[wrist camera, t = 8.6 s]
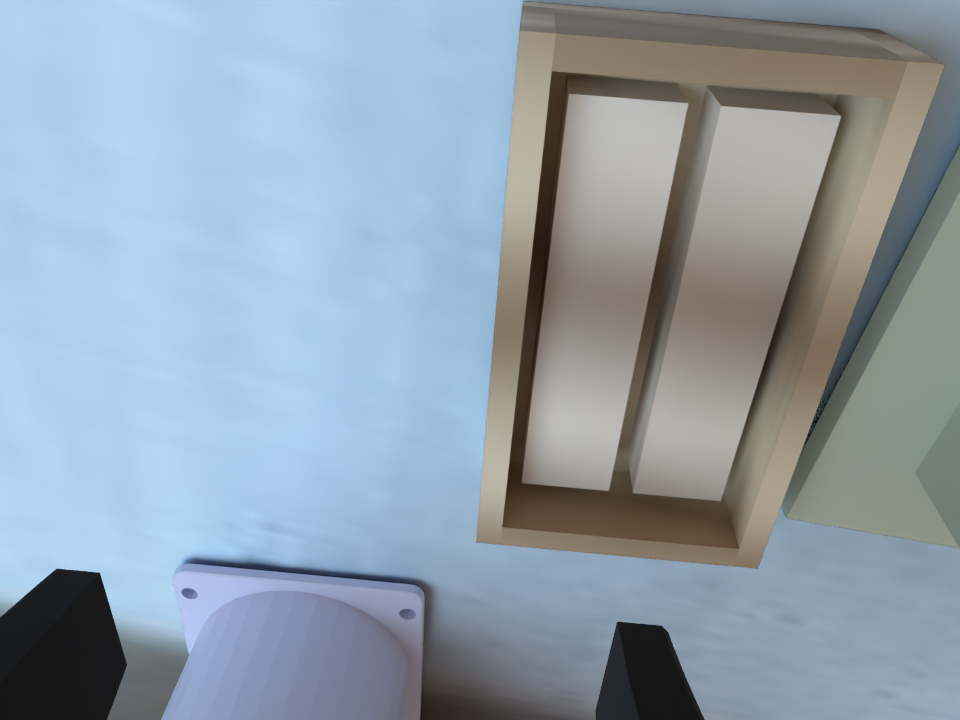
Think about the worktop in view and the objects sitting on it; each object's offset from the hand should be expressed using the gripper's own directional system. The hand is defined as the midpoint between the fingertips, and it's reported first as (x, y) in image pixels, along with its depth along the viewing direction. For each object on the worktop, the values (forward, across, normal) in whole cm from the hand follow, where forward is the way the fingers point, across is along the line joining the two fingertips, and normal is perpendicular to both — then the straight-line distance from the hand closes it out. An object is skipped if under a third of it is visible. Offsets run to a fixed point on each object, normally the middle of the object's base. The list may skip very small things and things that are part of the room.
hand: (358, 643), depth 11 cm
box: (+10, -5, -1) cm, 11 cm away
